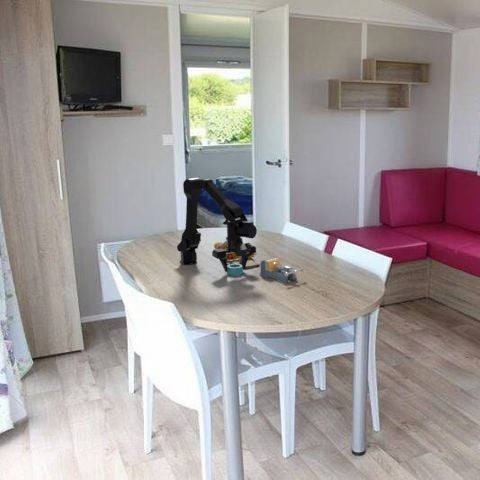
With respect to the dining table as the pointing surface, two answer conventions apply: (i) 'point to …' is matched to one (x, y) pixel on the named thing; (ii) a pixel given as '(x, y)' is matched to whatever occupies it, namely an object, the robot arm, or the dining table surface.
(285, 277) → the vise
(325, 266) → the dining table surface
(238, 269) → the ring
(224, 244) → the yellow jointed frame
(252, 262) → the post stand
